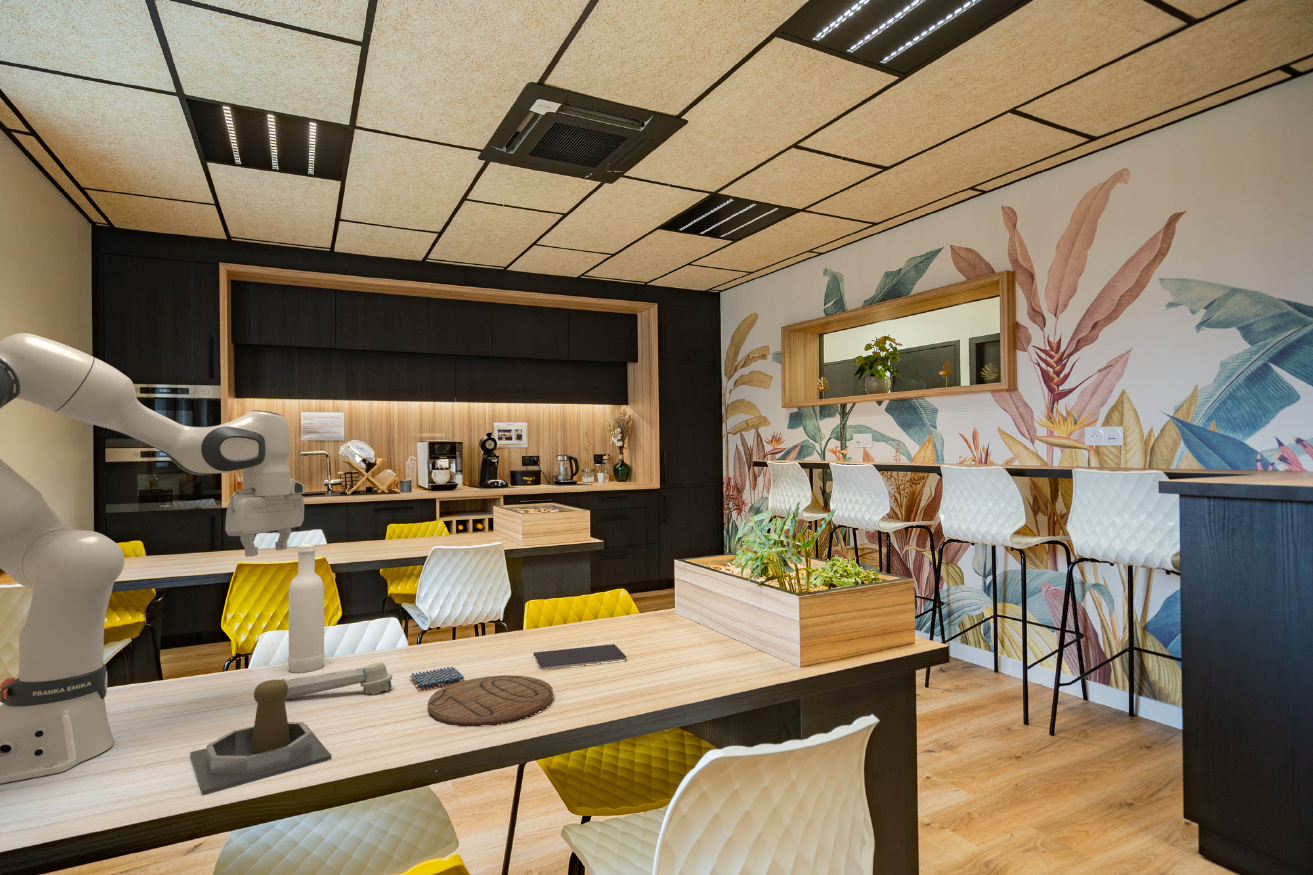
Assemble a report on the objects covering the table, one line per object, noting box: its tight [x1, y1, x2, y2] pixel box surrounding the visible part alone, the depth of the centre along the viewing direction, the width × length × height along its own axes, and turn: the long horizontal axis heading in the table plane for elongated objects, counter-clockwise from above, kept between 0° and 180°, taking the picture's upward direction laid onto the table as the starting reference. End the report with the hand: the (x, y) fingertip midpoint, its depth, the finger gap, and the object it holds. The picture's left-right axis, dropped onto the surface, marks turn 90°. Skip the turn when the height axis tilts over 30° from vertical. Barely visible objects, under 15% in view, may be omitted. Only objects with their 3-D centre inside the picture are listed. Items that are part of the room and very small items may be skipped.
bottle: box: [287, 543, 326, 674], centre depth 164 cm, size 8×8×30 cm
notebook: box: [533, 643, 627, 671], centre depth 167 cm, size 13×2×21 cm
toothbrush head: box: [281, 662, 393, 701], centre depth 143 cm, size 5×7×25 cm
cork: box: [251, 679, 290, 753], centre depth 117 cm, size 6×6×11 cm
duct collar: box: [189, 721, 332, 796], centre depth 113 cm, size 18×18×3 cm
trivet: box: [427, 675, 554, 727], centre depth 137 cm, size 25×25×2 cm
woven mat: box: [409, 666, 466, 692], centre depth 151 cm, size 10×11×2 cm
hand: (266, 552), depth 141 cm, fingers open, 8 cm apart
